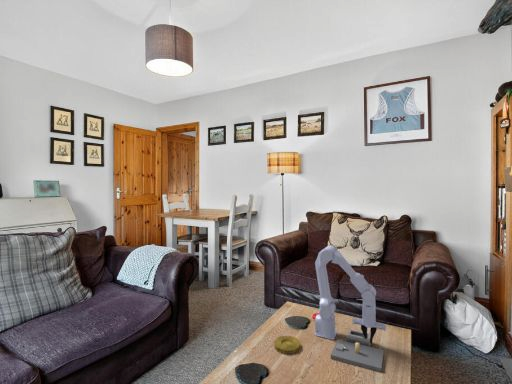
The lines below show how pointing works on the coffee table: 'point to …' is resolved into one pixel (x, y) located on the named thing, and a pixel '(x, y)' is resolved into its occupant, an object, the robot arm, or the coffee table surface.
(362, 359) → the board
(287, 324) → the coffee table surface
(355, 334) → the steel link
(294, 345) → the olive flat disc
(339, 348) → the chain anchor
